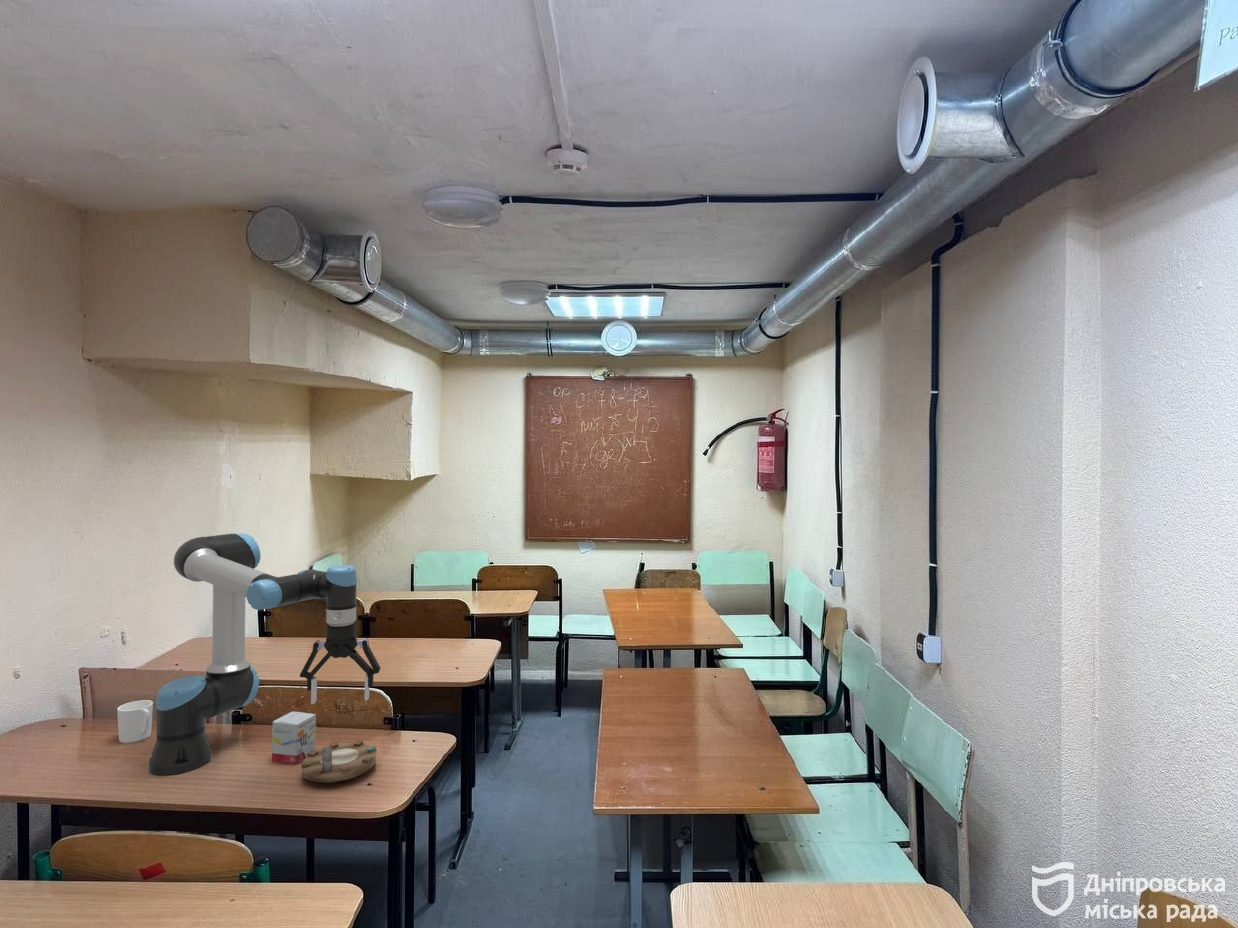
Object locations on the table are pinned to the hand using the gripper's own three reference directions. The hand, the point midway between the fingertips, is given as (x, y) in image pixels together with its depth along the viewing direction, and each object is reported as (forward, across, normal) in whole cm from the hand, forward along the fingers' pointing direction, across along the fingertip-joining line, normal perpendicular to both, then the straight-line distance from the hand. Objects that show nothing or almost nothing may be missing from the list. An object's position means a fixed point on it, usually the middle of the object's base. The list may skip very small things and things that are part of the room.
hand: (340, 700), depth 176 cm
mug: (+23, -68, +40) cm, 82 cm away
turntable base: (+22, -1, +5) cm, 22 cm away
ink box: (+22, -16, +18) cm, 33 cm away
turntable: (+20, -1, +5) cm, 20 cm away
